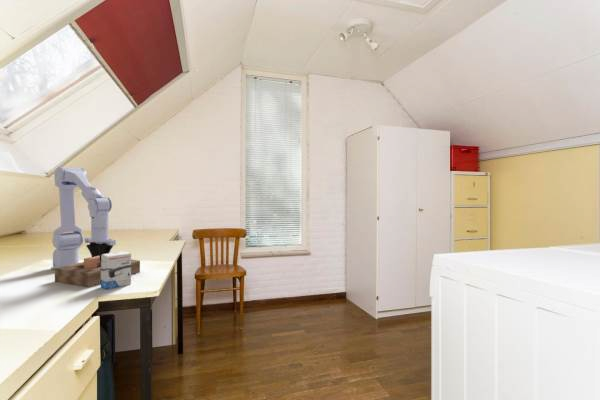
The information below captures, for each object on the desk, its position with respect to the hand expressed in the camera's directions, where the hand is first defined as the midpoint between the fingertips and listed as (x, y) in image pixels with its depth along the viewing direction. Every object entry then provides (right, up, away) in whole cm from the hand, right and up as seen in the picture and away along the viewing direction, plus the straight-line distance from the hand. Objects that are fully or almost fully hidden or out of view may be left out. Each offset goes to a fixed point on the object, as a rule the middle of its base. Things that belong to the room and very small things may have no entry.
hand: (99, 261), depth 123 cm
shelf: (0, -6, 0) cm, 6 cm away
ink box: (+13, -7, -11) cm, 18 cm away
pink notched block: (0, -4, 0) cm, 4 cm away
